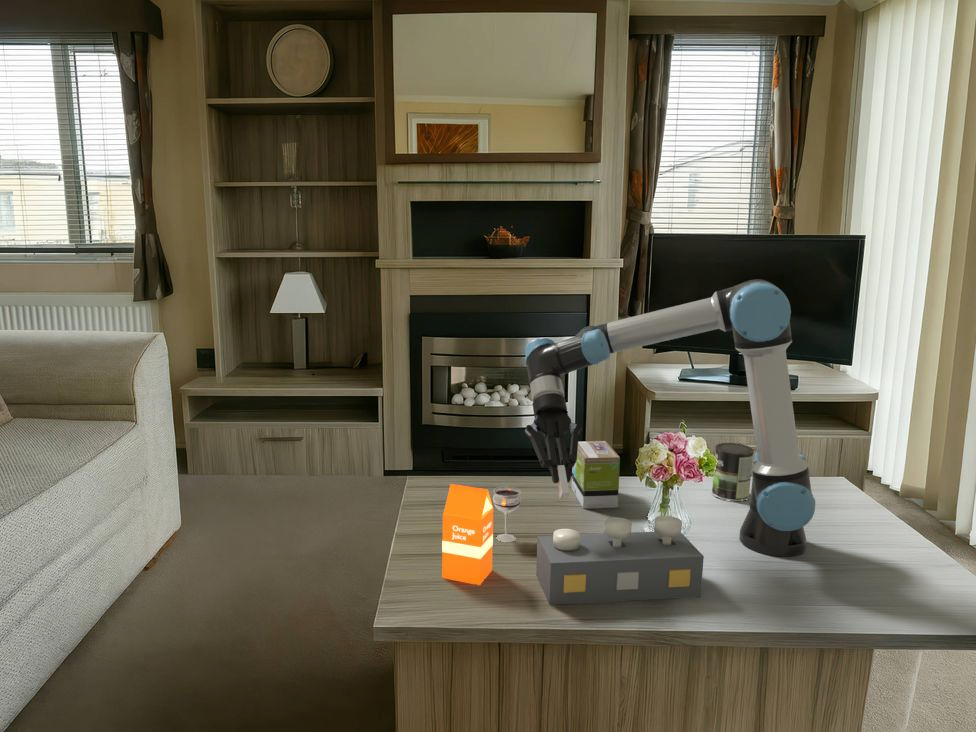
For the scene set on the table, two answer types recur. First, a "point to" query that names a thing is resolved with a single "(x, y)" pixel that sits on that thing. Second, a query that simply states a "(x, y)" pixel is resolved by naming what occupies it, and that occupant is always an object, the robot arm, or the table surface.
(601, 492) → the tea box
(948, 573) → the table surface
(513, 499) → the wineglass
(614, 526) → the middle button
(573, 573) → the button console
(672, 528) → the button
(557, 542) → the button
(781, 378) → the robot arm
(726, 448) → the coffee can
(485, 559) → the orange juice
